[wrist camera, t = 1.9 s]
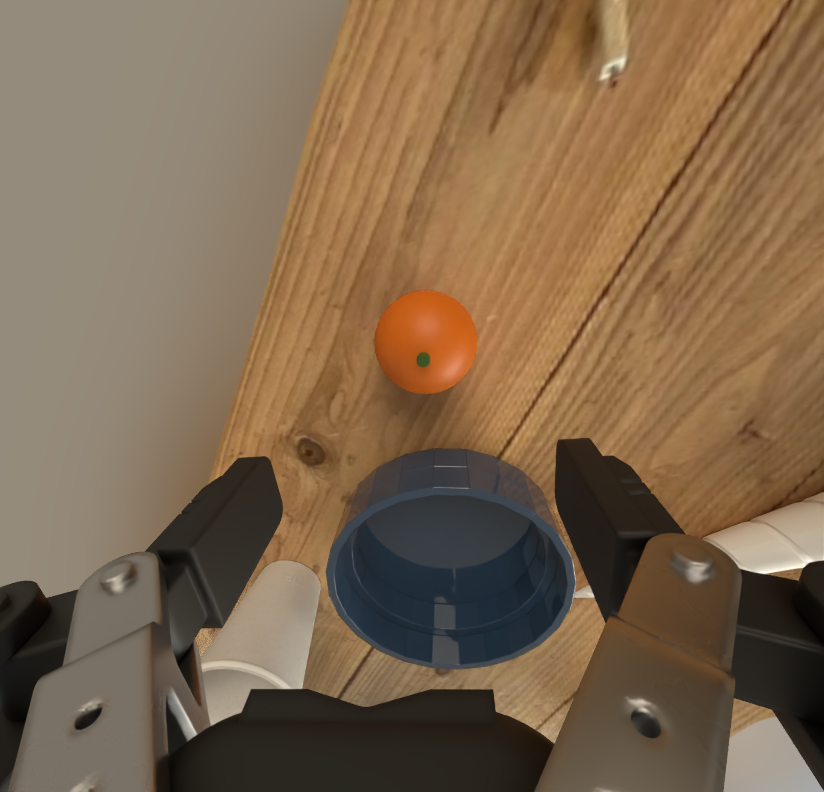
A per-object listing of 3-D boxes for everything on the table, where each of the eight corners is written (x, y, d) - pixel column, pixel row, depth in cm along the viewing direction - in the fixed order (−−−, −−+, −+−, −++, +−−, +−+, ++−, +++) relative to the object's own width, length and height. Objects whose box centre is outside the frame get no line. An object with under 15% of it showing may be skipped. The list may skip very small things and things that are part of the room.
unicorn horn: (553, 561, 33) (570, 613, 28) (884, 453, 27) (971, 497, 23) (572, 598, 34) (592, 653, 30) (889, 503, 29) (972, 554, 24)
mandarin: (393, 273, 24) (378, 287, 19) (485, 298, 25) (499, 319, 19) (373, 361, 27) (354, 398, 21) (457, 383, 27) (462, 426, 21)
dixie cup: (259, 535, 34) (192, 649, 25) (348, 570, 35) (315, 692, 25) (235, 595, 37) (168, 717, 28) (317, 626, 38) (278, 753, 29)
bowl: (366, 417, 29) (350, 458, 24) (589, 475, 29) (620, 526, 24) (329, 581, 35) (310, 640, 30) (510, 624, 36) (522, 689, 31)
